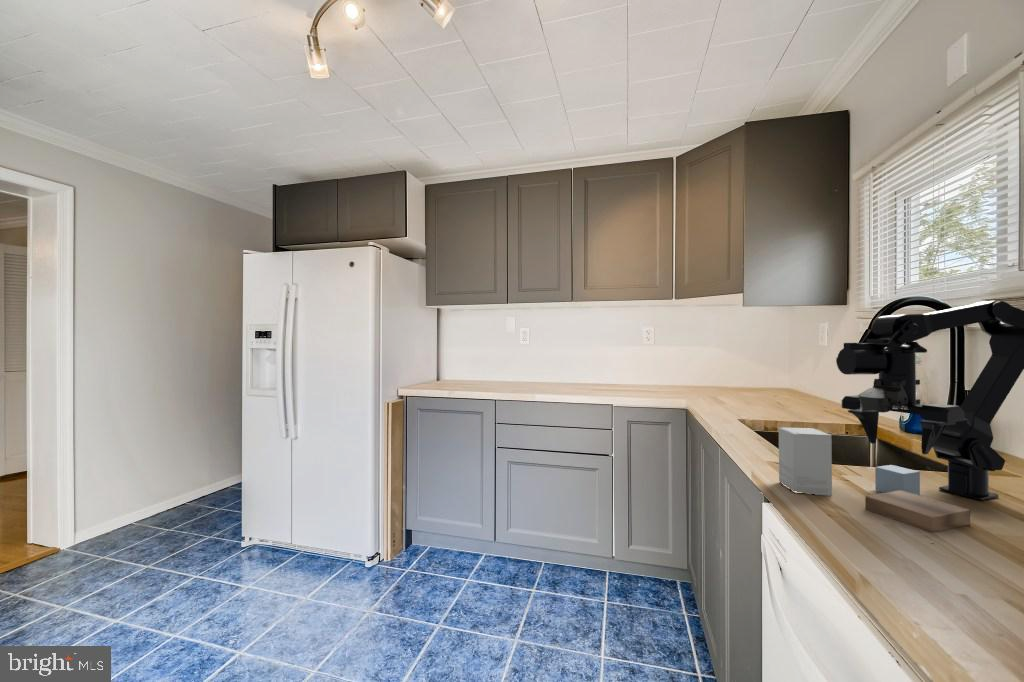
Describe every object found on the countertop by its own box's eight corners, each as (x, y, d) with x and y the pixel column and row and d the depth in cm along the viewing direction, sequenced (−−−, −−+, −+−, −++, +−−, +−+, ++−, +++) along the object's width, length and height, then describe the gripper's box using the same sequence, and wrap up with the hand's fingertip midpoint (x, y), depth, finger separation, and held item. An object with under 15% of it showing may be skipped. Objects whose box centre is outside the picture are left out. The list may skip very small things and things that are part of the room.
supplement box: (833, 496, 84) (833, 435, 84) (793, 494, 86) (792, 433, 86) (814, 484, 92) (814, 427, 92) (777, 482, 93) (777, 426, 93)
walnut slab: (900, 502, 81) (900, 490, 81) (970, 524, 71) (970, 509, 71) (865, 509, 78) (865, 495, 78) (932, 532, 68) (932, 517, 68)
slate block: (891, 487, 90) (891, 464, 90) (919, 495, 85) (919, 471, 85) (875, 490, 88) (875, 466, 88) (903, 498, 83) (903, 474, 83)
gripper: (823, 372, 93) (824, 441, 93) (927, 379, 75) (928, 464, 75) (858, 371, 96) (859, 437, 96) (965, 377, 78) (966, 459, 78)
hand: (897, 448), depth 86 cm, fingers open, 9 cm apart
